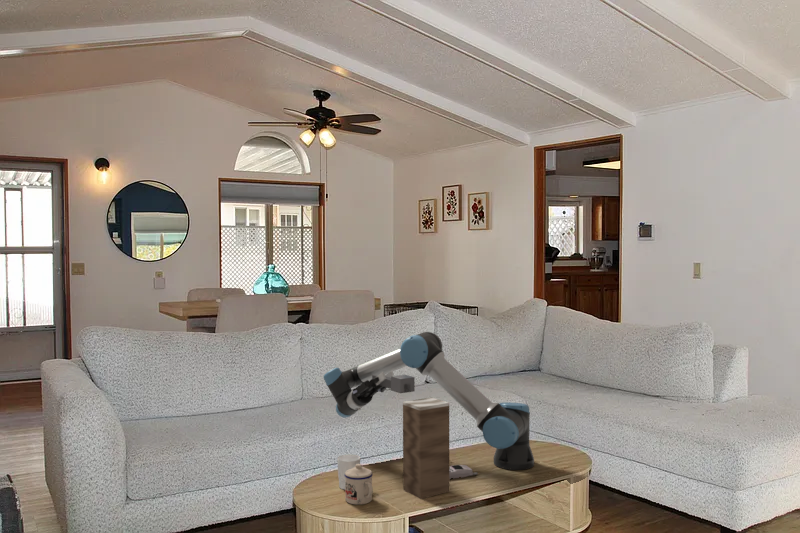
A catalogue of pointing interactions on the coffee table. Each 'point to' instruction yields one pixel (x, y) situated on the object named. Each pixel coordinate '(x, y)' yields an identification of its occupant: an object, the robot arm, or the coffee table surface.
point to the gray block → (399, 383)
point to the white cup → (346, 467)
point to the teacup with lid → (358, 485)
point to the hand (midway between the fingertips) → (388, 374)
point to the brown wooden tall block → (426, 447)
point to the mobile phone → (460, 471)
